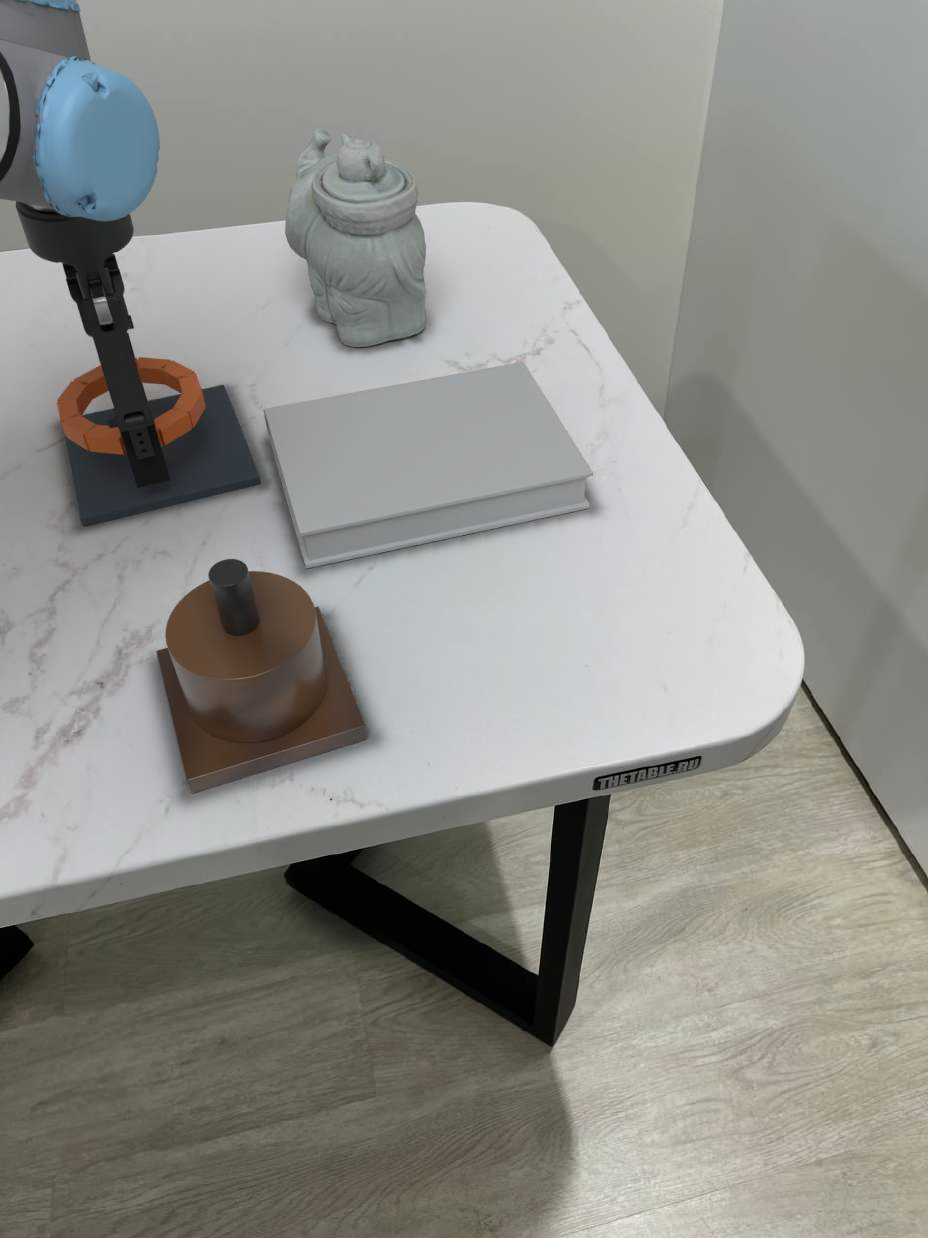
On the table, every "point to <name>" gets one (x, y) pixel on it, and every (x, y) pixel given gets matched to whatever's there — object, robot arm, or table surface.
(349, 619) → the table surface
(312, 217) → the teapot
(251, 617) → the ring stand
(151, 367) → the ring
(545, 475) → the book
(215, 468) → the mat
